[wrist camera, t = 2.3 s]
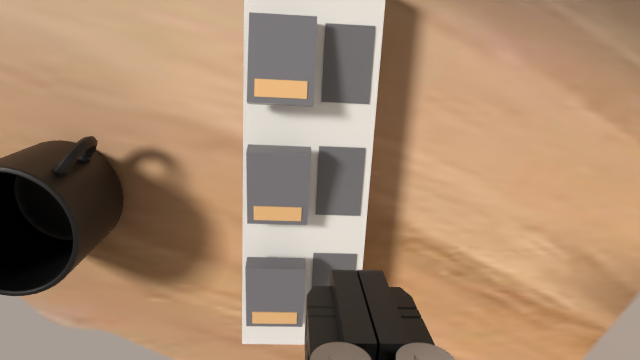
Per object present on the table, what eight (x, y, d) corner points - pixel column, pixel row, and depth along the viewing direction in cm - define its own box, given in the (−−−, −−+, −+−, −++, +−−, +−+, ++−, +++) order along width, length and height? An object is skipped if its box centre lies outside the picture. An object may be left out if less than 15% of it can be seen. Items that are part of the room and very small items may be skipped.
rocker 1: (250, 18, 32) (249, 12, 31) (316, 22, 33) (317, 16, 31) (248, 104, 33) (246, 102, 31) (312, 106, 33) (314, 105, 31)
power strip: (249, -22, 35) (244, -31, 31) (377, -14, 36) (387, -22, 32) (246, 317, 44) (241, 344, 40) (350, 319, 44) (356, 345, 40)
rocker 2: (248, 144, 33) (246, 152, 32) (310, 146, 34) (311, 155, 32) (248, 213, 36) (247, 224, 35) (306, 215, 37) (307, 225, 35)
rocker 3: (246, 256, 36) (245, 269, 35) (305, 258, 36) (305, 270, 35) (247, 313, 39) (246, 326, 37) (302, 314, 39) (302, 327, 38)
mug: (163, 161, 39) (126, 193, 30) (87, 263, 41) (33, 320, 32) (64, 91, 37) (-6, 104, 28) (-10, 202, 39) (-96, 246, 30)
